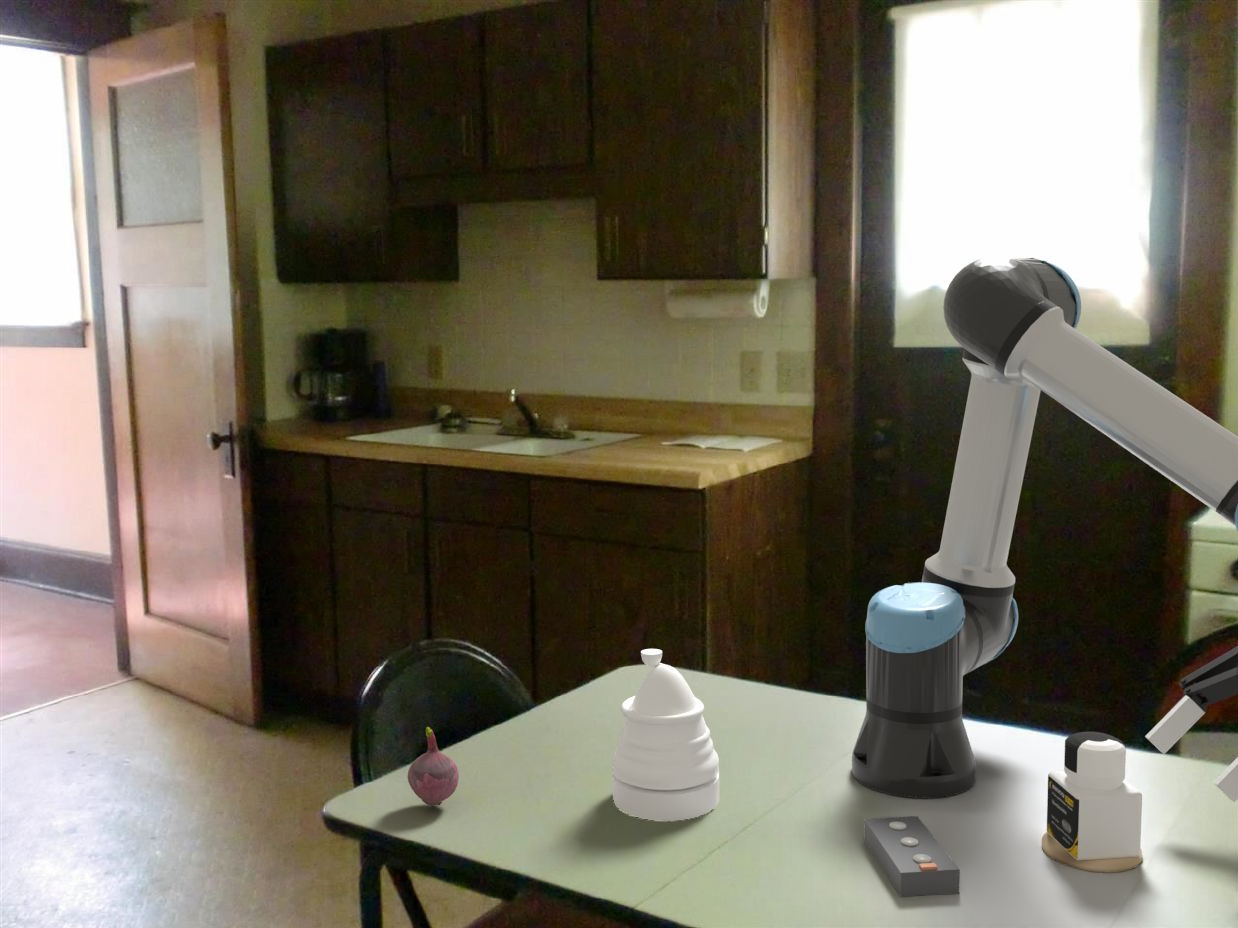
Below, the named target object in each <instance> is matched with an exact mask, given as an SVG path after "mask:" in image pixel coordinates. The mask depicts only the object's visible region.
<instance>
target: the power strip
mask: <svg viewBox="0 0 1238 928" xmlns="http://www.w3.org/2000/svg"><path fill="white" fill-rule="evenodd" d="M863 841H864V843H865V844H866V846H867V848H868V849H869V850H870V852H871V854H872V855H873V857H874V858H875V860H876V861H877V862H878V864H879V866H880V867H881V869H882V871H883V872H884V873H885V875H886V876H887V877H888V879H889V881H890V882H891V884H892V886H893V887H894V889H895V890H896V892H897V893H898V895H899V897H900V898H901V897H903V898H904V897H917V896H919V897H920V896H932V895H933V896H934V895H936V896H937V895H952V894H953V895H954V894H960V885H961V884H960V877H961V876H960V875H961V873H960V871H961V869H960V868H959V867H958V865H957V864H956V862H954V861H953V859H952V857H950V855H949V854H948V853H947V852H946V850H945V849H944V848H943V846H942V845H941V844H940V842H939V841H938V840H937V838H936V837H934V835H933V834H932V832H931V831H930V830H929V829H928V828H927V826H926V825H925V824H924V822H923V821H922V820H921V818H920V817H919V816H918V815H911V816H910V815H909V816H893V817H892V816H891V817H890V816H888V817H872V818H871V817H870V818H864V819H863Z"/></svg>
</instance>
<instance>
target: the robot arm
mask: <svg viewBox="0 0 1238 928" xmlns="http://www.w3.org/2000/svg"><path fill="white" fill-rule="evenodd" d="M1081 314H1082V301H1081V295H1080V292H1079V289H1078V286H1077V285H1076V283H1075V282H1074V280H1073V279H1072V277H1071V276H1070V275H1069V274H1068V273H1067V272H1066V271H1065V270H1064V269H1063V268H1061V267H1059V266H1058V265H1056V264H1053V263H1051V262H1048V261H1047V260H1042V259H1038V258H1035V257H1007V256H987V257H983V258H980V259H977V260H975V261H972V262H970V263H969V264H967V265H965V266H964V267H963V268H962V269H961V270H959V271H958V272H957V273H956V274H955V276H954V277H953V278H952V280H951V281H950V283H949V285H948V287H947V290H946V292H945V294H944V300H943V317H944V321H945V324H946V325H945V326H946V327H947V329H948V331H949V333H950V335H951V336H952V338H953V339H954V340H955V341H956V342H957V343H958V344H959V345H960V346H961V347H962V348H963V353H962V358H961V359H962V361H963V363H964V365H966V367H967V369H968V370H969V372H970V374H971V376H970V384H969V388H968V394H967V399H966V405H965V411H964V417H963V421H962V427H961V431H960V438H959V444H958V448H957V454H956V459H955V464H954V470H953V476H952V480H951V481H952V482H951V486H950V492H949V497H948V503H947V508H946V515H945V518H944V519H945V520H944V525H943V530H942V536H941V542H940V547H939V550H938V552H936V553H935V554H933V555H932V556H930V557H928V558H927V559H926V560H925V562H924V567H923V573H922V578H921V582H907V583H903V584H902V585H898V584H895V585H890V586H887V587H885V588H883V589H881V590H878V591H877V592H876V593H875V594H874V595H873V596H872V597H871V598H870V600H869V603H868V605H867V613H866V620H865V623H864V624H865V627H864V628H865V629H864V630H865V635H866V636H865V637H866V641H865V646H866V647H865V648H866V651H865V653H866V655H865V660H866V662H865V664H866V667H865V668H866V670H865V671H866V675H865V677H866V678H865V680H866V682H865V684H866V685H865V688H866V689H865V692H866V694H865V695H866V699H865V700H866V702H865V703H866V707H865V710H866V711H865V714H864V715H865V716H864V718H863V721H862V724H861V726H860V727H861V728H860V730H859V733H858V736H857V738H856V742H855V744H854V748H853V750H852V755H851V773H852V775H853V777H854V778H855V779H856V781H858V782H859V783H860V784H862V785H864V786H866V787H868V788H870V789H873V790H875V791H878V792H881V793H885V794H889V795H894V796H900V797H906V798H907V797H908V798H919V799H920V798H923V799H926V798H927V799H928V798H929V799H930V798H931V799H932V798H944V797H949V796H954V795H955V796H956V795H958V794H961V793H963V792H966V791H968V790H970V789H971V788H972V787H973V786H974V785H975V783H976V780H977V779H976V778H977V777H976V776H977V766H976V765H977V763H976V758H975V756H974V755H975V754H974V753H973V749H972V745H971V743H970V740H969V736H968V733H967V730H966V726H965V725H964V721H963V688H964V687H963V685H964V684H963V683H964V682H963V678H964V676H965V675H967V674H969V673H971V672H973V671H975V670H976V669H978V668H979V667H981V666H984V665H987V664H988V663H989V662H991V661H993V660H994V659H996V658H997V657H998V656H1000V655H1001V654H1002V653H1003V652H1004V651H1005V650H1006V648H1007V647H1009V646H1010V644H1011V642H1012V640H1013V638H1014V637H1015V636H1016V635H1015V634H1016V632H1017V628H1018V625H1019V609H1018V605H1017V602H1016V600H1015V598H1014V597H1013V595H1014V594H1013V593H1014V590H1015V585H1016V576H1015V575H1014V573H1013V572H1012V571H1011V569H1010V568H1009V567H1008V564H1007V562H1008V557H1009V551H1010V549H1011V547H1010V546H1011V542H1012V537H1013V531H1014V528H1015V521H1016V515H1017V513H1018V505H1019V501H1020V496H1021V492H1022V486H1023V481H1024V476H1025V471H1026V466H1027V463H1028V462H1027V461H1028V456H1029V452H1030V448H1031V447H1030V446H1031V441H1032V436H1033V431H1034V425H1035V422H1036V421H1035V420H1036V416H1037V410H1038V406H1039V401H1040V396H1041V392H1043V393H1045V394H1046V395H1047V396H1049V397H1050V398H1052V399H1054V400H1055V401H1056V402H1058V403H1059V404H1060V405H1062V406H1063V407H1064V408H1066V409H1068V410H1069V411H1070V412H1072V413H1073V414H1075V415H1076V416H1078V417H1079V418H1081V419H1082V420H1083V421H1085V422H1086V423H1088V424H1089V425H1091V426H1092V427H1094V428H1095V429H1096V430H1098V431H1099V432H1100V433H1102V434H1103V435H1106V437H1108V438H1109V439H1111V440H1112V441H1113V442H1115V443H1116V444H1118V445H1119V446H1120V447H1122V448H1123V449H1125V450H1127V451H1128V452H1130V453H1131V454H1132V455H1134V457H1135V456H1136V457H1137V458H1138V459H1140V460H1141V461H1142V462H1143V463H1145V464H1147V465H1148V466H1149V467H1151V468H1152V469H1153V470H1155V471H1157V472H1158V473H1159V474H1161V475H1162V476H1164V477H1165V478H1167V479H1168V480H1170V481H1171V482H1173V483H1174V484H1176V485H1177V486H1178V487H1180V488H1181V489H1182V490H1184V491H1186V492H1187V493H1188V494H1190V495H1192V496H1193V497H1194V498H1195V499H1197V500H1199V501H1200V502H1202V503H1203V504H1204V505H1206V506H1207V507H1209V508H1210V509H1212V511H1214V512H1216V513H1217V514H1219V515H1220V516H1221V517H1222V518H1224V520H1227V521H1228V522H1229V523H1231V525H1234V526H1235V528H1236V531H1237V532H1238V435H1236V434H1235V433H1233V432H1232V431H1230V430H1229V429H1228V428H1225V427H1224V426H1222V425H1221V424H1220V423H1218V422H1217V421H1215V420H1213V419H1212V418H1211V417H1209V416H1207V415H1206V414H1204V413H1203V412H1202V411H1200V410H1199V409H1196V408H1195V407H1194V406H1192V405H1191V404H1189V403H1188V402H1186V401H1184V400H1183V399H1181V398H1180V397H1179V396H1177V395H1176V394H1174V393H1172V392H1171V391H1170V390H1168V389H1167V388H1165V387H1164V386H1162V385H1161V384H1159V383H1158V382H1156V381H1155V380H1154V379H1152V378H1150V377H1149V376H1147V375H1146V374H1144V373H1143V372H1141V371H1139V370H1138V369H1136V368H1135V367H1134V366H1132V365H1130V364H1129V363H1127V362H1126V361H1124V359H1121V358H1119V356H1117V355H1115V354H1114V353H1112V352H1111V351H1109V350H1107V349H1106V348H1104V347H1103V346H1102V345H1100V344H1098V343H1097V342H1096V341H1093V339H1091V338H1090V337H1088V336H1087V335H1085V334H1083V333H1082V332H1080V331H1079V330H1077V327H1078V325H1079V322H1080V319H1081ZM1178 685H1179V686H1180V687H1181V688H1182V690H1183V695H1182V697H1181V698H1179V700H1178V701H1177V702H1176V703H1175V704H1174V705H1173V706H1172V707H1171V708H1170V709H1169V710H1168V711H1167V712H1166V714H1165V715H1164V717H1162V719H1160V721H1158V722H1157V724H1156V725H1155V726H1154V727H1153V728H1152V729H1151V730H1150V731H1149V732H1148V733H1147V734H1145V736H1144V737H1145V738H1146V739H1147V740H1148V741H1149V742H1150V744H1152V745H1153V746H1155V748H1156V749H1157V750H1158V751H1159V752H1160V753H1162V754H1163V755H1166V753H1167V752H1168V751H1169V750H1171V748H1172V747H1173V746H1174V745H1175V744H1176V743H1177V742H1178V741H1179V740H1180V739H1181V738H1182V737H1183V736H1184V735H1186V733H1187V732H1188V731H1189V730H1190V729H1191V728H1192V727H1193V726H1194V724H1196V723H1197V722H1198V721H1199V720H1200V719H1201V718H1202V717H1203V716H1204V715H1205V714H1206V713H1207V707H1208V706H1210V705H1212V704H1216V703H1219V702H1220V701H1223V700H1225V699H1229V698H1231V697H1234V696H1236V695H1238V645H1237V646H1235V647H1233V648H1232V649H1230V650H1229V651H1227V652H1225V653H1223V654H1221V655H1219V656H1218V657H1216V658H1215V659H1213V660H1211V661H1210V662H1208V663H1206V664H1205V665H1203V666H1201V667H1200V668H1198V669H1196V670H1194V671H1193V672H1191V673H1189V674H1188V675H1185V676H1184V677H1183V678H1181V679H1180V680H1179V681H1178ZM1212 783H1213V785H1215V786H1216V787H1217V788H1218V789H1219V790H1220V791H1221V792H1222V793H1223V794H1224V796H1226V797H1227V798H1228V799H1229V800H1230V801H1232V802H1234V803H1235V802H1237V801H1238V756H1237V757H1236V758H1235V759H1234V760H1233V761H1232V762H1231V763H1230V765H1228V766H1227V767H1226V768H1225V769H1224V770H1223V771H1222V772H1221V774H1219V775H1218V777H1216V779H1214V780H1213V782H1212Z"/></svg>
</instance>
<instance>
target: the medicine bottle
mask: <svg viewBox="0 0 1238 928" xmlns="http://www.w3.org/2000/svg"><path fill="white" fill-rule="evenodd" d="M1126 755H1127V746H1126V745H1125V744H1124V742H1123V741H1122V740H1121V739H1119V738H1117V737H1115V736H1113V735H1111V734H1108V733H1103V732H1098V731H1081V732H1076V733H1073V734H1070V735H1069V736H1068V737H1067V738H1065V740H1064V765H1063V766H1064V767H1063V770H1059V771H1049V772H1048V774H1047V801H1046V802H1047V803H1046V804H1047V806H1046V807H1047V808H1046V832H1047V833H1048V834H1049V835H1050V836H1051V837H1052V838H1053V839H1054V840H1055V841H1056V842H1058V843H1059V844H1060V845H1061V846H1062V847H1063V848H1064V849H1065V850H1066V851H1067V852H1068V853H1069V854H1070V855H1071V856H1072V857H1073V858H1074V859H1075V860H1077V861H1083V860H1099V859H1114V858H1130V857H1138V856H1140V848H1141V843H1142V840H1141V839H1142V813H1143V812H1142V811H1143V809H1142V808H1143V794H1142V792H1141V791H1140V790H1138V788H1135V787H1134V786H1133V784H1132V785H1131V784H1130V783H1129V782H1128V781H1126V780H1125V779H1126V762H1127V761H1126V760H1127V759H1126Z"/></svg>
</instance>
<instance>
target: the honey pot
mask: <svg viewBox="0 0 1238 928" xmlns="http://www.w3.org/2000/svg"><path fill="white" fill-rule="evenodd" d="M640 656H641V660H642V662H643V663H644V665H645V666H647V668H653V669H652V670H650V672H648V674H646V677H645V678H644V679H643V681H642V682H641V684H640V686H639V688H638V689H637V692H636V693H635V695H633V696H631V697H629V698H627V699H625V700H624V701H623V702H622V703H621V706H620V712H621V714H622V715H623V716H624V717H625V718H626V719H625V722H624V725H623V727H622V728H621V729H620V734H619V736H620V737H619V739H618V741H617V747H616V750H615V752H614V754H613V757H612V762H611V763H612V775H611V776H612V801H613V800H614V802H615V805H616V806H617V807H618V808H620V809H621V810H622V811H624V812H627V813H628V814H630V815H634V816H638V817H641V818H647V819H652V820H672V821H671V822H675V821H674V820H682V821H684V820H683V819H688V820H690V819H689V818H693V817H697V818H699V817H698V816H700V815H703V814H705V815H707V814H706V813H708V812H709V813H710V811H711V810H712V809H714V808H715V807H716V806H718V805H719V804H720V769H719V768H720V765H719V763H720V761H719V759H720V758H719V755H718V753H717V751H716V750H715V748H714V741H713V739H712V738H711V730H710V728H709V727H708V726H707V724H706V722H705V718H704V716H703V713H704V712H705V704H704V703H703V702H702V701H701V700H700V699H699V698H698V697H696V696H695V695H694V692H693V691H692V689H691V688H690V686H689V684H688V683H687V681H686V678H684V676H683V675H682V674H681V673H680V672H679V671H678V670H677V669H676V668H675V667H673V666H671V665H670V664H665V663H662V662H661V660H662V657H663V650H661V649H658V648H646V649H642V650H641V651H640ZM614 802H613V803H614ZM718 803H719V804H718ZM717 804H718V805H717ZM615 805H614V806H615ZM716 808H717V807H716ZM716 808H715V809H716ZM715 809H714V810H715ZM712 811H713V810H712ZM712 811H711V812H712ZM709 813H708V814H709ZM703 816H704V815H703ZM700 817H701V816H700ZM693 819H694V818H693Z"/></svg>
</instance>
